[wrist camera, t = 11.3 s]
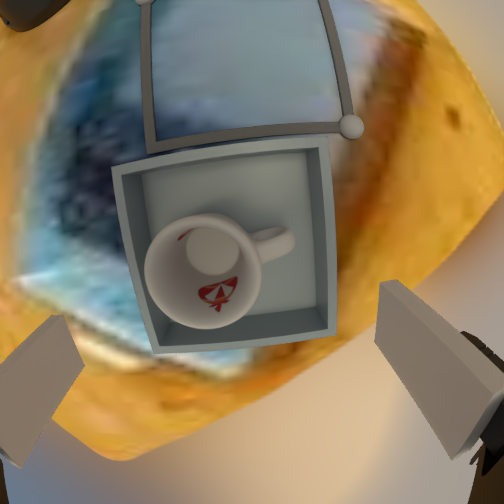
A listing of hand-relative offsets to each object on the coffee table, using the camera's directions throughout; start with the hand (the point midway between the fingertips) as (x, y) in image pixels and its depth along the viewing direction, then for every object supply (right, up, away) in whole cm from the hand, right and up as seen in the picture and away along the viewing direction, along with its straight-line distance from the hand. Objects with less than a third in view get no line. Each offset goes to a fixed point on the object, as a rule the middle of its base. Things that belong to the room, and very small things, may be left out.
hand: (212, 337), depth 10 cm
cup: (-1, +4, +16) cm, 16 cm away
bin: (0, +4, +16) cm, 17 cm away
